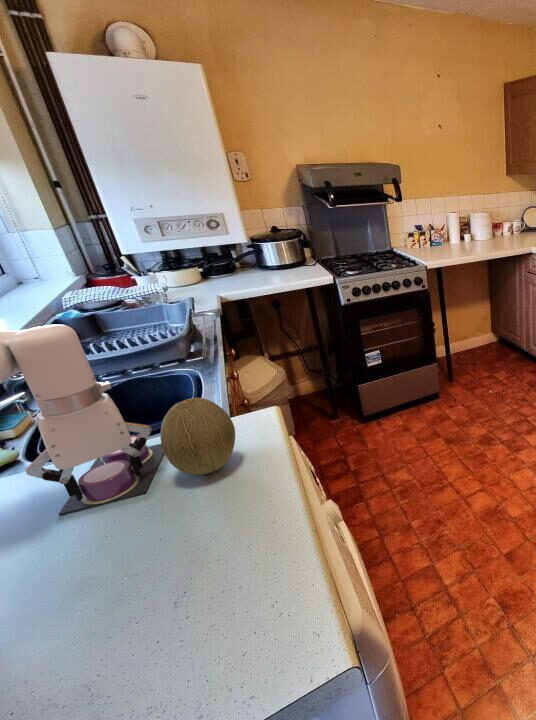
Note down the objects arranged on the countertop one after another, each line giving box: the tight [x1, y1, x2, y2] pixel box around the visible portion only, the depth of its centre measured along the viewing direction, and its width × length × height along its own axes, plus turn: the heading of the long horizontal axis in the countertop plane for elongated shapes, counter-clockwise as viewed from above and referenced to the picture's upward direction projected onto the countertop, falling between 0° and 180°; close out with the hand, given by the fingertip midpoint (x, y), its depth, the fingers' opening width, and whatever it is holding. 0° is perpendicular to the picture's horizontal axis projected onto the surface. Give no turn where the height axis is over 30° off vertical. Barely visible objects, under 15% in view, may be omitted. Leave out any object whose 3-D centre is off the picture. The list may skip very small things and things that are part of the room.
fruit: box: [160, 397, 236, 476], centre depth 82 cm, size 11×11×15 cm
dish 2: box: [77, 460, 136, 502], centre depth 79 cm, size 7×7×4 cm
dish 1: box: [100, 434, 150, 467], centre depth 86 cm, size 7×7×4 cm
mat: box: [57, 443, 165, 516], centre depth 83 cm, size 12×17×1 cm
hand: (109, 483), depth 79 cm, fingers open, 7 cm apart
